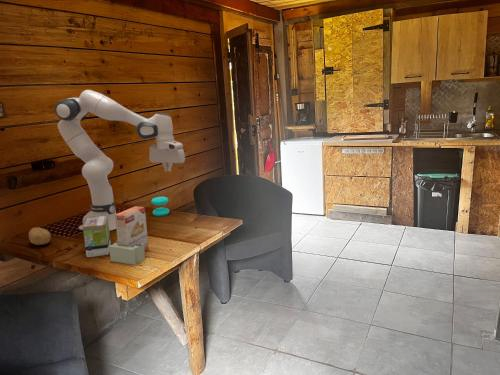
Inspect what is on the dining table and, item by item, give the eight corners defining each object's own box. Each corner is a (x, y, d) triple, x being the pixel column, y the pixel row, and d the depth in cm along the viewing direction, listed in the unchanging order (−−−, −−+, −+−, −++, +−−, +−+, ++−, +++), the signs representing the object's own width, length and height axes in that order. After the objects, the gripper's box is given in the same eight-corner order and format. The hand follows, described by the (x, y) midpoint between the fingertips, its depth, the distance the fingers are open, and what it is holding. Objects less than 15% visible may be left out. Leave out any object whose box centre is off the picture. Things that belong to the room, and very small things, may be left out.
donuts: (171, 196, 237) (161, 201, 228) (172, 212, 239) (163, 217, 230) (157, 195, 241) (147, 199, 232) (159, 211, 243) (149, 216, 234)
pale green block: (110, 261, 171) (108, 244, 169) (121, 254, 177) (119, 238, 175) (135, 265, 166) (133, 247, 164) (145, 258, 172) (143, 242, 170)
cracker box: (130, 261, 170) (125, 215, 165) (119, 259, 172) (113, 214, 167) (149, 249, 182) (145, 206, 178) (139, 247, 185) (134, 205, 180)
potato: (36, 250, 187) (33, 234, 185) (25, 244, 196) (23, 229, 194) (57, 244, 194) (54, 229, 192) (46, 238, 203) (43, 223, 201)
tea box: (109, 254, 178) (105, 224, 175) (86, 258, 175) (81, 227, 172) (111, 243, 192) (107, 214, 189) (89, 246, 189) (85, 217, 186)
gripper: (145, 145, 203) (148, 171, 207) (178, 145, 195) (180, 172, 198) (153, 143, 209) (155, 169, 212) (185, 144, 201) (187, 170, 204)
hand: (168, 170), depth 205 cm, fingers closed
